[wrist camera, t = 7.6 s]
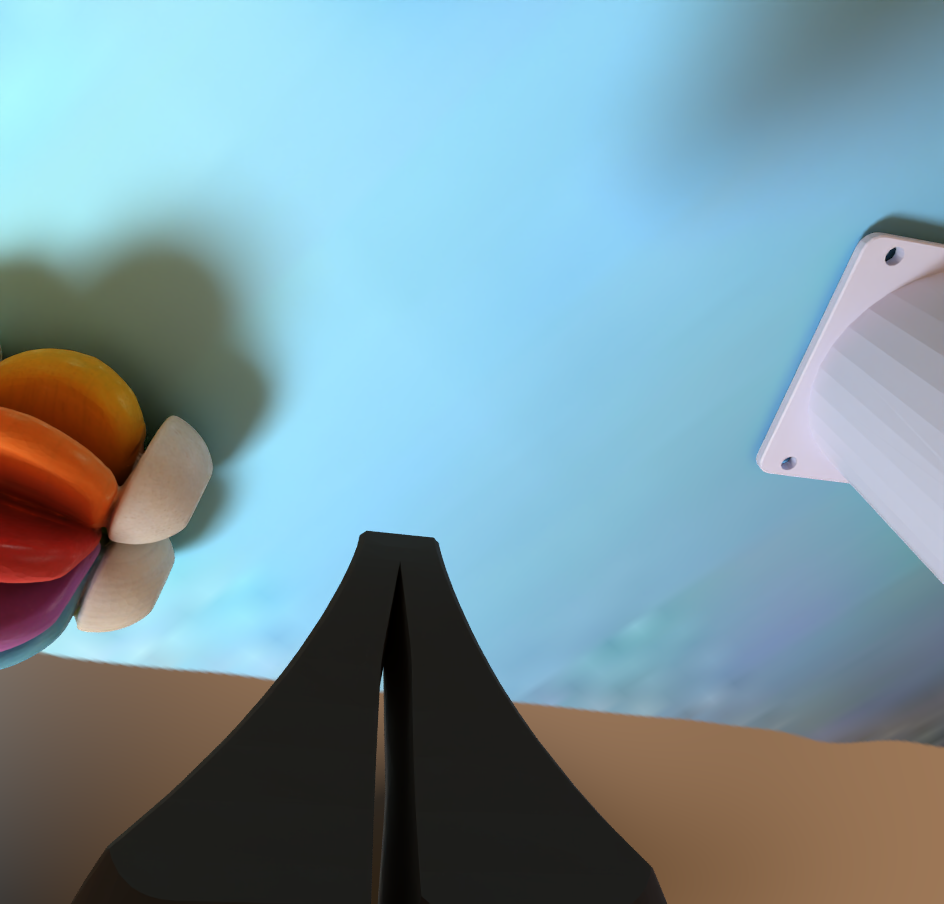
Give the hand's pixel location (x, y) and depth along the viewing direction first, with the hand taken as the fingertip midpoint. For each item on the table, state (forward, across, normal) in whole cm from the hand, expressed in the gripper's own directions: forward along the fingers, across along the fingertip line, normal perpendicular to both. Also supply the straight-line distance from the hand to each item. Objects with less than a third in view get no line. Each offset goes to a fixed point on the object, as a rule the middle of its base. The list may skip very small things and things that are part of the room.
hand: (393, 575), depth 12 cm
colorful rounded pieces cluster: (+10, +10, +5) cm, 15 cm away
